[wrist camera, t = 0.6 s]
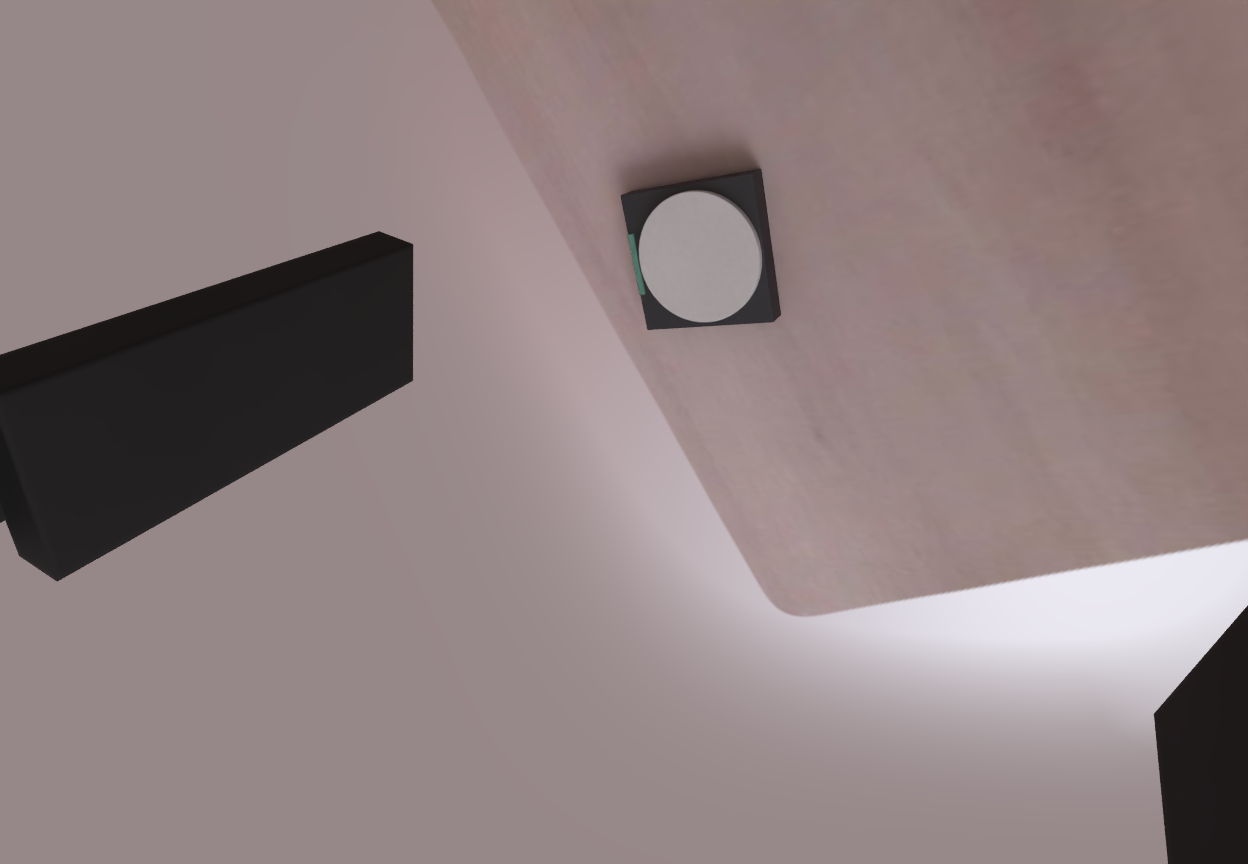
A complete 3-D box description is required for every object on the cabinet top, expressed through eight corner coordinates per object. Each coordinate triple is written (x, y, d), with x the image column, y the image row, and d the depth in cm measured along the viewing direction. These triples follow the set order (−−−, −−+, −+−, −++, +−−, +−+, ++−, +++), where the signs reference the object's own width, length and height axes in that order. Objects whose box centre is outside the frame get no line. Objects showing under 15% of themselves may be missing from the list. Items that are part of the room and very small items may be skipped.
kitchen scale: (631, 191, 50) (616, 196, 49) (761, 168, 46) (749, 173, 44) (657, 323, 54) (643, 332, 52) (781, 315, 49) (770, 324, 47)
